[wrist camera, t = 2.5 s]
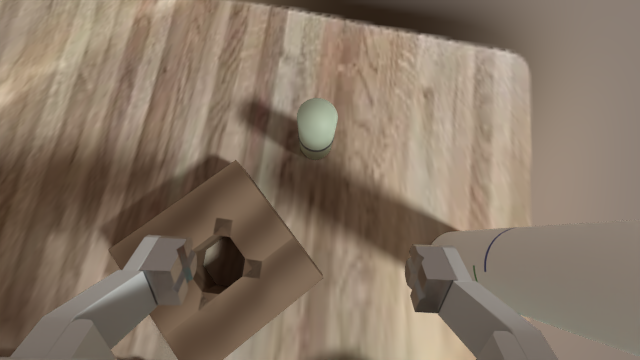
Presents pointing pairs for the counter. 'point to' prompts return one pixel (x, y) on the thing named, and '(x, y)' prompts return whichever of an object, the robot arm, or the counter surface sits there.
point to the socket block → (258, 274)
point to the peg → (316, 127)
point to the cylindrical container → (562, 275)
